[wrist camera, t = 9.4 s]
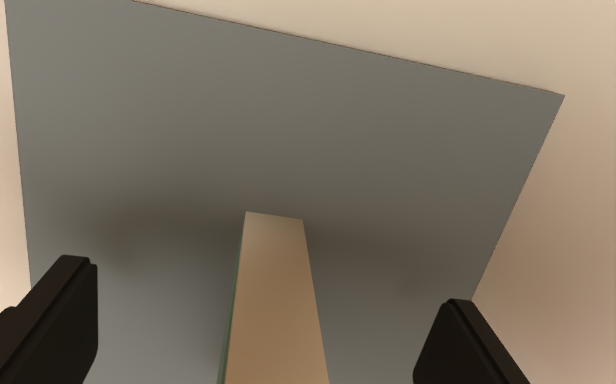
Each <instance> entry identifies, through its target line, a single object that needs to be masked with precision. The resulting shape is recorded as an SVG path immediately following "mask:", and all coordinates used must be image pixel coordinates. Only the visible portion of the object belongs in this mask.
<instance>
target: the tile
mask: <svg viewBox="0 0 616 384" xmlns="http://www.w3.org/2000/svg"><path fill="white" fill-rule="evenodd" d="M217 384H329V380H328V373H327V367H326V361H325V355H324V349H323V343H322V336H321V330H320V324H319V318H318V312H317V305H316V299H315V293H314V287H313V281H312V274H311V268H310V262H309V256H308V250H307V243H306V237H305V231H304V225H303V220H302V219H295V218H289V217H282V216H275V215H268V214H261V213H254V212H247V211H246V214H245V220H244V226H243V232H242V233H241V236H240V243H239V249H238V255H237V261H236V267H235V273H234V279H233V285H232V292H231V298H230V304H229V310H228V316H227V322H226V328H225V334H224V340H223V347H222V353H221V359H220V365H219V371H218V378H217Z"/></svg>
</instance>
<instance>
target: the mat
mask: <svg viewBox="0 0 616 384" xmlns="http://www.w3.org/2000/svg"><path fill="white" fill-rule="evenodd" d="M4 2H5V13H6V24H7V34H8V45H9V56H10V67H11V77H12V88H13V99H14V109H15V120H16V131H17V142H18V152H19V163H20V174H21V185H22V195H23V206H24V217H25V228H26V238H27V249H28V260H29V271H30V281H31V289H32V288H33V287H34V286H35V285H36V283H37V282H38V281H39V280H40V279H41V278H42V276H43V275H44V274H45V273H46V272H47V271H48V270H49V268H50V267H51V266H52V265H53V264H54V263H55V261H56V260H57V259H58V258H59V257H60V256H61V255H64V254H65V255H74V256H83V257H88V258H89V259H90V262H91V264H96V265H97V268H98V351H97V355H96V358H95V360H94V362H93V364H92V366H91V368H90V370H89V372H88V374H87V376H86V378H85V380H84V382H83V384H217V378H218V371H219V365H220V359H221V353H222V347H223V340H224V334H225V328H226V322H227V316H228V310H229V304H230V298H231V292H232V285H233V279H234V273H235V267H236V261H237V255H238V249H239V243H240V236H241V233H242V232H243V226H244V220H245V214H246V211H247V212H254V213H261V214H268V215H275V216H282V217H289V218H295V219H302V220H303V225H304V231H305V237H306V243H307V250H308V256H309V262H310V268H311V274H312V281H313V287H314V293H315V299H316V305H317V312H318V318H319V324H320V330H321V336H322V343H323V349H324V355H325V361H326V367H327V373H328V380H329V384H414V383H413V377H412V374H413V369H414V367H415V365H416V362H417V360H418V357H419V355H420V353H421V350H422V348H423V346H424V343H425V341H426V339H427V336H428V334H429V332H430V329H431V327H432V325H433V322H434V320H435V318H436V315H437V313H438V311H439V308H440V306H441V304H443V303H446V302H447V300H448V299H450V298H454V299H463V300H470V301H471V298H472V296H473V294H474V292H475V290H476V288H477V285H478V283H479V281H480V279H481V277H482V275H483V272H484V270H485V268H486V266H487V264H488V262H489V259H490V257H491V255H492V253H493V251H494V249H495V246H496V244H497V242H498V240H499V238H500V236H501V233H502V231H503V229H504V227H505V225H506V223H507V220H508V218H509V216H510V214H511V212H512V210H513V207H514V205H515V203H516V201H517V199H518V197H519V194H520V192H521V190H522V188H523V186H524V184H525V181H526V179H527V177H528V175H529V173H530V171H531V168H532V166H533V164H534V162H535V160H536V158H537V155H538V153H539V151H540V149H541V147H542V145H543V142H544V140H545V138H546V136H547V134H548V132H549V129H550V127H551V125H552V123H553V121H554V119H555V116H556V114H557V112H558V110H559V108H560V106H561V103H562V101H563V99H564V97H565V95H561V94H558V93H554V92H550V91H546V90H541V89H536V88H532V87H527V86H523V85H518V84H513V83H509V82H504V81H500V80H495V79H491V78H486V77H481V76H477V75H472V74H468V73H463V72H458V71H454V70H449V69H445V68H440V67H435V66H431V65H426V64H422V63H417V62H413V61H408V60H403V59H399V58H394V57H390V56H385V55H380V54H376V53H371V52H367V51H362V50H357V49H353V48H348V47H344V46H339V45H334V44H330V43H325V42H321V41H316V40H312V39H307V38H302V37H298V36H293V35H289V34H284V33H279V32H275V31H270V30H266V29H261V28H256V27H252V26H247V25H243V24H238V23H233V22H229V21H224V20H220V19H215V18H211V17H206V16H201V15H197V14H192V13H188V12H183V11H178V10H174V9H169V8H165V7H160V6H155V5H151V4H146V3H142V2H137V1H132V0H4Z"/></svg>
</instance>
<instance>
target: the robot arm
mask: <svg viewBox="0 0 616 384" xmlns="http://www.w3.org/2000/svg"><path fill="white" fill-rule="evenodd" d="M97 351H98V268H97V265H96V264H91V262H90V259H89V258H88V257H83V256H74V255H65V254H64V255H61V256H60V257H59V258H58V259H57V260H56V261H55V263H54V264H53V265H52V266H51V267H50V268H49V270H48V271H47V272H46V273H45V274H44V275H43V276H42V278H41V279H40V280H39V281H38V282H37V283H36V285H35V286H34V287H33V288H32V289H31V290H30V292H29V293H28V294H27V295H26V296H25V297H24V298H23V300H22V301H21V302H20V303H19V304H18V305H17V307H12V306H10V307H8V308H6V309H4V310H3V311H2V312H1V313H0V384H83V382H84V380H85V378H86V376H87V374H88V372H89V370H90V368H91V366H92V364H93V362H94V360H95V358H96V355H97ZM412 377H413V383H414V384H530V382H529V381H528V380H527V378H526V377H525V375H524V374H523V373H522V371H521V370H520V368H519V367H518V365H517V364H516V363H515V361H514V360H513V358H512V357H511V356H510V354H509V353H508V351H507V350H506V348H505V347H504V346H503V344H502V343H501V341H500V340H499V339H498V337H497V336H496V334H495V333H494V331H493V330H492V329H491V327H490V326H489V324H488V323H487V322H486V320H485V319H484V317H483V316H482V314H481V313H480V312H479V310H478V309H477V307H476V306H475V305H474V303H473V302H472V301H470V300H463V299H454V298H450V299H448V300H447V302H446V303H443V304H441V306H440V308H439V311H438V313H437V315H436V318H435V320H434V322H433V325H432V327H431V329H430V332H429V334H428V336H427V339H426V341H425V343H424V346H423V348H422V350H421V353H420V355H419V357H418V360H417V362H416V365H415V367H414V369H413V374H412Z"/></svg>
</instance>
